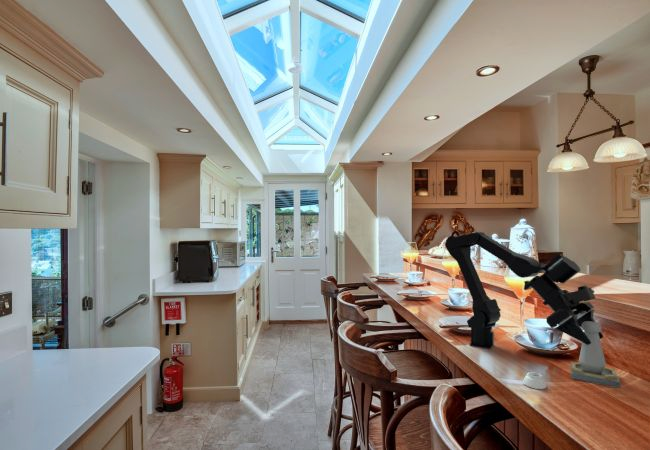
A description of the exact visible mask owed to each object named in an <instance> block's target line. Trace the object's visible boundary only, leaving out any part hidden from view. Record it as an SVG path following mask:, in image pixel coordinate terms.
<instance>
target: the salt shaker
mask: <svg viewBox="0 0 650 450" xmlns="http://www.w3.org/2000/svg"><path fill="white" fill-rule="evenodd" d="M581 329H582V330H583V331H584V333H585V334H586V335H587V337H588V338H589V340H590V341H591V344H589V345H587V344H585V343H583V342H581V347H580V348H581V349H580V354H579V356H578V357H579V359H578V362H580V364H581V367H582V369H583V370H585V371H586V372H590V373H595V374H599V373H602V372H603V370H604V368H605V367H607V366H606V365H607V363H606V359H605V355H604V351H603V347H602V343H601V339H600V338H599V332H601V333H602V324H600V323H598V322H596V321H595V322H591V321H586V322H583V323H582V327H581Z"/></svg>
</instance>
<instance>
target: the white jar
mask: <svg viewBox="0 0 650 450" xmlns="http://www.w3.org/2000/svg"><path fill="white" fill-rule="evenodd" d="M522 383H523V385H525V386H527V387H529V388H531V389H535V390H536V389H537V390H543V389H547V384H546V382H545V380H544V378H543V376H542V374H541V373H538V372H534V371H529V372H527V374H526V375H525V376H524V379H523V380H522Z"/></svg>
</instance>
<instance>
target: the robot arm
mask: <svg viewBox="0 0 650 450" xmlns="http://www.w3.org/2000/svg"><path fill="white" fill-rule="evenodd" d="M476 245H477V246H479V247H480V248H481V249H483V250H485V251H487V252H488V253H489V254H491V255H492V256H494V257H496V258H497V259H499V260H500V261H502V262H503V263H504V264H505V265H506V266H507V268H508V269H509V270H510V271H511V272H512V273H514V274H515V275H516V276H517V277H519V278H521V279H522V278H524V279H525V278H531V279H530V280H524V281H523V282H524V285H523V290H524V291H529V290H534V292H536V294H537V295H538V296H539V297H540V298H541V299H542V300H543V302H542V304H543V305H544V306H548V307H549V308H550V309H551V310H552V311H553V312H552V313H551V314H550V315H548V316H547V317H546V324H547V325H548V326H549V327H550V328H551V329H553V328H554V330H556V331H559V332H561V333H564V334H566V335H568V336H570V337H572V338H574V339H575V340H578V341H579V342H581V343H582V342H583V343H585V344H587V345H589V344H591V341H590V340H589V338H588V337H587V335H586V334H585V333H584V330H582V323H583V322H586V321H591V322H596V321H595V319H594V313H595V306H593V304H592V303H591V302H590V301H592V300H596V296H595V290H594V289H592V287H588V286H587V285H585V284H584V285H581V286H578V287H577V290H575V291H571V292H569V290H567V289H562V288H561V287H560V286H559V285H558V284H559V283H560V284H565V283H567V282H568V281H569V280H570V279H572V278H573V277H574V276H576V275H577V274H579V273H580V272H581V268H580V266H579V265H578V264H577V263H576V262H575V261H574V260H571V259H570V258H569V257H567V256H564V254H563V253H558V254H557V255H556V254H555V256H554V257H553V258H552V259H551V260H550V261H549V262H548V263H542V262H541V263H540V262H539V260H537V259H536V258H533V257H531V256H528V255H525V254H522V253H518V252H515V251H513V250H511V249H510V248H508V247H506V246H505V245H503V244H502V243H500V242H498V241H496V240H495V239H493V238H492V237H490V236H489V235H487V234H485V233H484V232H482V231H473V232H470V233H466V234H461V235H450V236H448V237H447V238H446V239H445V242H444V247H445V249H446V251H447V252H448V254H449V255H450V256H451V257H452V259H454V260H455V261H456V263H457V265H458V268H459V270H460V273H461V274H462V277H463V279H464V282H465V284H466V287H467V289H468V292H469V295H470V296H471V299H472V307H471V309H472V313H473V314H472V316H470V318H468V319H467V320H466V324H467V326H468V328H470V342H469V346H472V347H477V348H483V349H489V350H491V348H492V347H493V346H494V345H495V332H494V331H493V328H494V327H495V326H496V323H497V322H499V321H500V318H501V311H502V309H501V308H500V307H499V305H498V304H499V303H498V301H497V299H495V298H493V299H491V298H490V297H489V296H488V295H487V293H486V289H485V287H484V285H483V283H482V281H481V278H480V276H479V273H478V271H477V270H476V267H475V264H474V263H473V260H472V258H471V256H472V255H471V253H472V248H471V247H474V246H476ZM540 273H542V274H541V275H539V274H540ZM604 337H605V336H604V334H603V333H602V331H601V332H599V338H600V340H601V339H603V338H604Z"/></svg>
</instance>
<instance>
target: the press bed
mask: <svg viewBox="0 0 650 450" xmlns="http://www.w3.org/2000/svg"><path fill="white" fill-rule="evenodd" d="M570 377H571V378H570V379H571V380H577V381H581V382H585V383H591V384H596V385H597V384H598V385H601V386H607V387H613V388H617V389H620V388H621V381H620V379H619V376H618V374H617V371H616V369H613V368H610V367H607V366H605V368H604V370H603V372H602V373H599V374H595V373H590V372H586V371H585V370H583V369H582V367H581V364H580V362H579V361H578V362H575V361H570Z"/></svg>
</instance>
